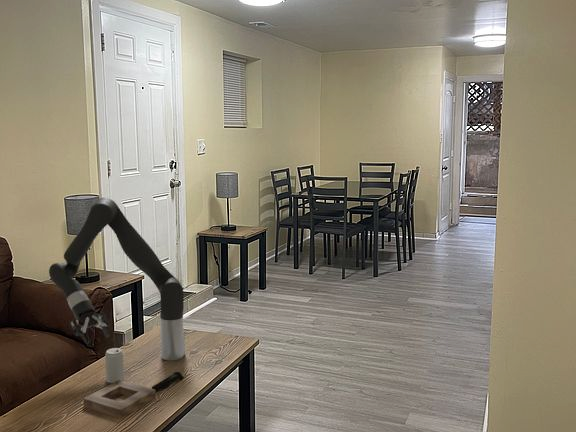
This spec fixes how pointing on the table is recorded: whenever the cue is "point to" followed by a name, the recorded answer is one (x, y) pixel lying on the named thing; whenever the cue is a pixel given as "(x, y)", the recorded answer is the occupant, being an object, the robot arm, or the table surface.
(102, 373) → the table surface
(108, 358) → the beverage can
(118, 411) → the hole board
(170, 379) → the electric trimmer
